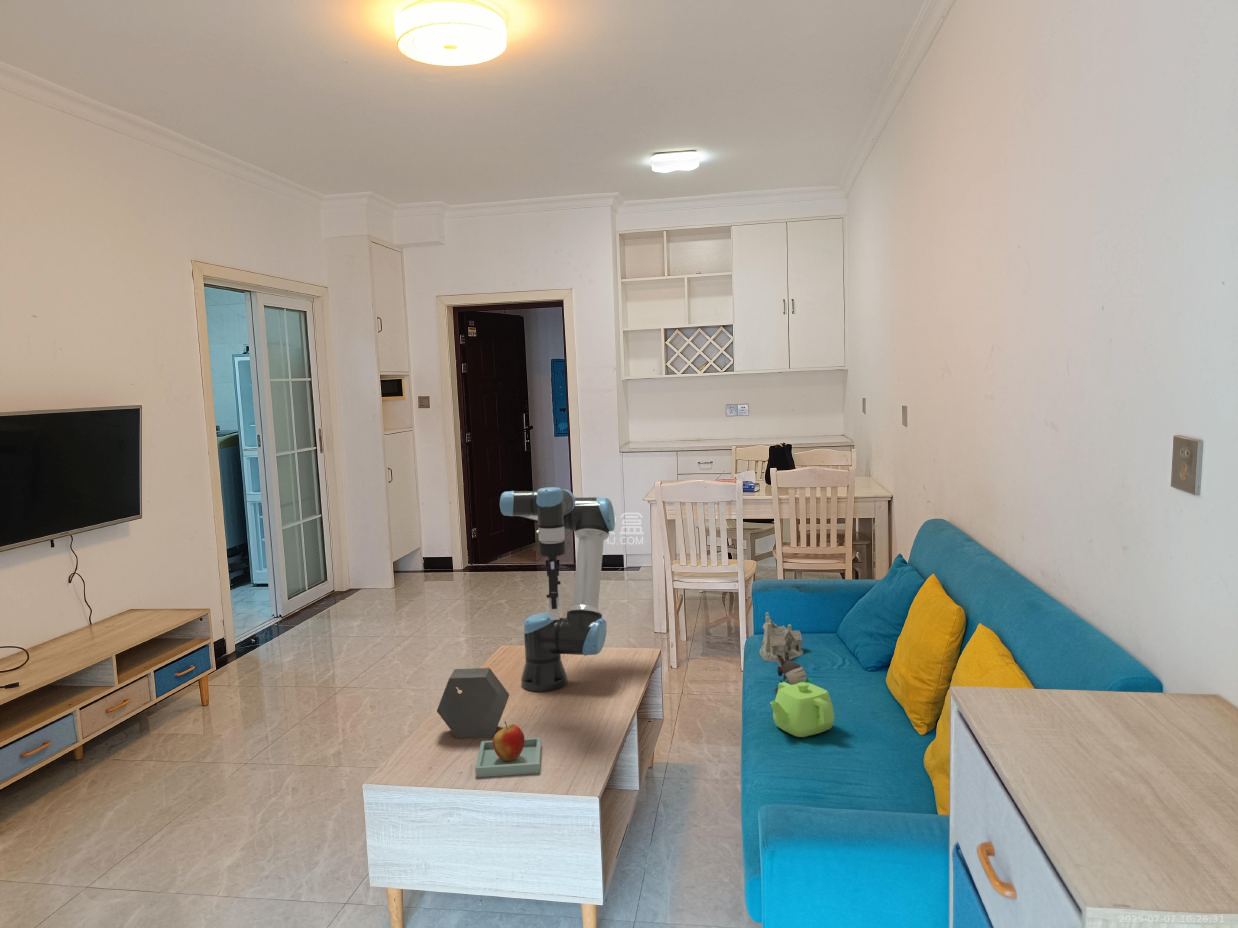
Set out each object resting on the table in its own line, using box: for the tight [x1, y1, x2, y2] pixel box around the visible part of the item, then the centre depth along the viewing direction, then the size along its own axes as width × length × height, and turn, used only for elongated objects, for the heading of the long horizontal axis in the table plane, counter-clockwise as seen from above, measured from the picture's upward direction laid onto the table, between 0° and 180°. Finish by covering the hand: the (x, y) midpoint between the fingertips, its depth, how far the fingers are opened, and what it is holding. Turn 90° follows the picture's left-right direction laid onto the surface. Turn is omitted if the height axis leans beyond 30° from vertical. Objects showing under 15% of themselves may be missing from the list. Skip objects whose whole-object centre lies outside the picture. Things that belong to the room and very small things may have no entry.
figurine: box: [774, 652, 814, 694], centre depth 252 cm, size 11×12×12 cm
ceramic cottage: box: [758, 612, 804, 663], centre depth 288 cm, size 16×16×15 cm
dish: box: [474, 736, 542, 778], centre depth 211 cm, size 16×16×2 cm
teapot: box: [769, 681, 835, 738], centre depth 223 cm, size 18×20×13 cm
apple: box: [492, 721, 525, 761], centre depth 211 cm, size 8×8×10 cm
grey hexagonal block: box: [436, 667, 510, 739], centre depth 230 cm, size 17×8×21 cm
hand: (554, 613), depth 235 cm, fingers open, 13 cm apart
